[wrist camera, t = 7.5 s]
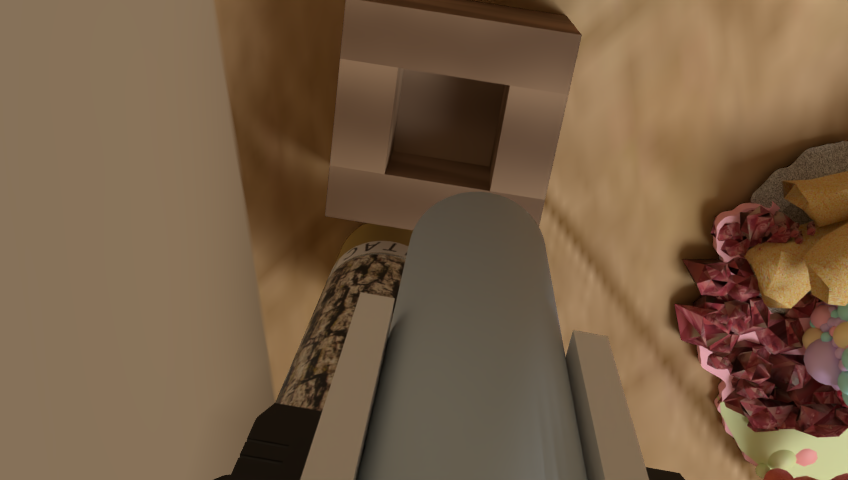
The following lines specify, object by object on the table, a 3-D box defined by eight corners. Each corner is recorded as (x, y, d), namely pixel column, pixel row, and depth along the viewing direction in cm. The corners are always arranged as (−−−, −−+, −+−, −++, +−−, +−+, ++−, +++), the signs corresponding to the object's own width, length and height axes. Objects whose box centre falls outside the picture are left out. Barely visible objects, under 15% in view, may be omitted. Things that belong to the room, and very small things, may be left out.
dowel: (529, 326, 23) (609, 1070, 8) (398, 303, 23) (247, 1003, 8) (559, 205, 21) (729, 861, 7) (419, 180, 21) (277, 781, 7)
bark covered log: (449, 308, 49) (419, 658, 26) (346, 312, 50) (228, 655, 27) (442, 211, 46) (402, 504, 23) (333, 216, 47) (190, 506, 24)
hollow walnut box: (526, 202, 46) (533, 249, 39) (347, 173, 46) (324, 216, 39) (566, 15, 41) (581, 35, 35) (367, -16, 41) (346, -2, 35)
